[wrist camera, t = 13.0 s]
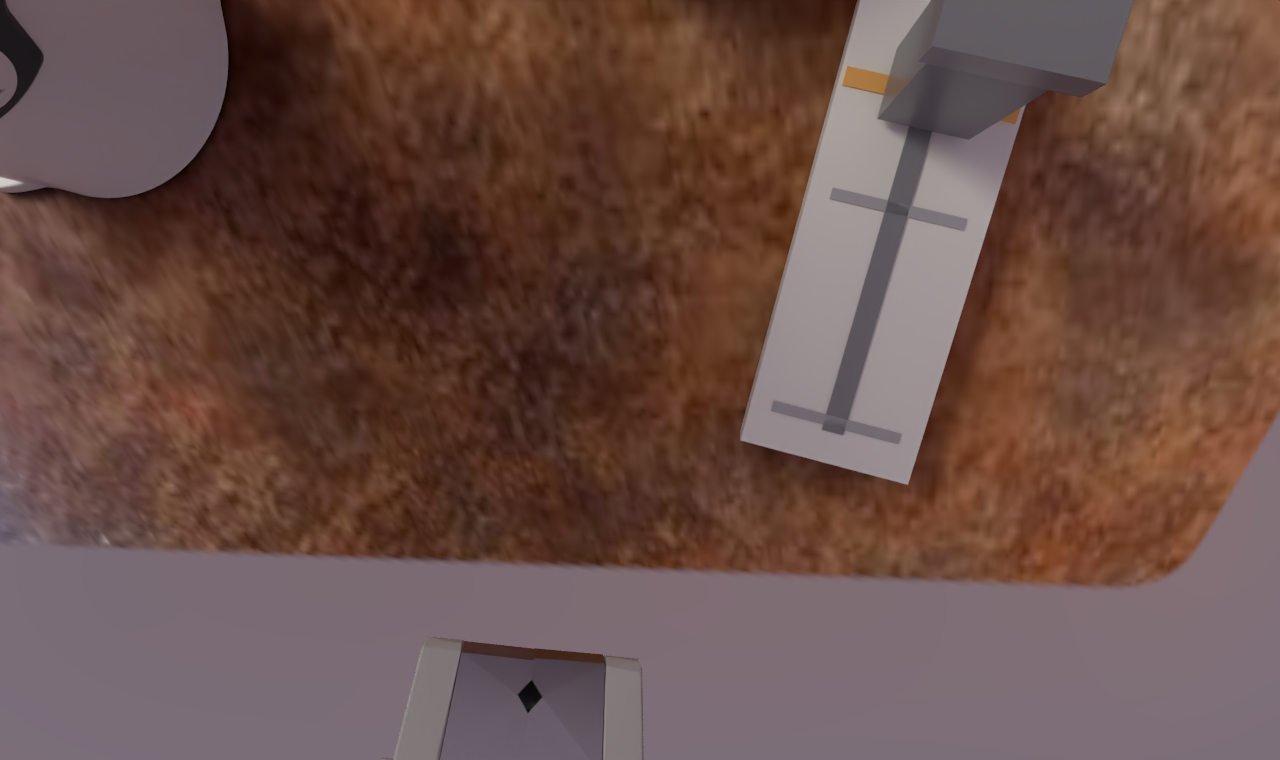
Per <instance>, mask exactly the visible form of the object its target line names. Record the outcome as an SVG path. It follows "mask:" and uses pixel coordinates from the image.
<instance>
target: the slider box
mask: <svg viewBox="0 0 1280 760" xmlns="http://www.w3.org/2000/svg"><path fill="white" fill-rule="evenodd" d="M930 1H931V0H857V3H856V6H855V10H854V14H853V17H852V21H851V25H850V29H849V32H848V36H847V40H846V43H845V47H844V51H843V54H842V58H841V62H840V65H839V69H838V73H837V76H836V80H835V84H834V87H833V91H832V95H831V98H830V102H829V106H828V109H827V113H826V117H825V120H824V124H823V128H822V131H821V135H820V139H819V142H818V146H817V150H816V154H815V157H814V161H813V165H812V168H811V172H810V176H809V179H808V183H807V187H806V190H805V194H804V198H803V201H802V205H801V209H800V212H799V216H798V220H797V223H796V227H795V231H794V234H793V238H792V242H791V245H790V249H789V253H788V256H787V260H786V264H785V267H784V271H783V275H782V279H781V282H780V286H779V290H778V293H777V297H776V301H775V304H774V308H773V312H772V315H771V319H770V323H769V326H768V330H767V334H766V337H765V341H764V345H763V348H762V352H761V356H760V359H759V363H758V367H757V370H756V374H755V378H754V381H753V385H752V389H751V392H750V396H749V400H748V404H747V407H746V411H745V415H744V418H743V422H742V426H741V429H740V440H741V441H744V442H748V443H752V444H756V445H759V446H763V447H767V448H771V449H775V450H778V451H782V452H786V453H790V454H793V455H797V456H801V457H805V458H808V459H812V460H816V461H820V462H824V463H827V464H831V465H835V466H839V467H842V468H846V469H850V470H854V471H857V472H861V473H865V474H869V475H873V476H876V477H880V478H884V479H888V480H891V481H895V482H899V483H903V484H907V485H908V483H909V480H910V477H911V473H912V470H913V467H914V464H915V460H916V457H917V454H918V451H919V448H920V444H921V441H922V438H923V435H924V431H925V428H926V425H927V422H928V419H929V415H930V412H931V409H932V406H933V402H934V399H935V396H936V393H937V390H938V386H939V383H940V380H941V377H942V373H943V370H944V367H945V364H946V361H947V357H948V354H949V351H950V348H951V344H952V341H953V338H954V335H955V331H956V328H957V325H958V322H959V319H960V315H961V312H962V309H963V306H964V302H965V299H966V296H967V293H968V290H969V286H970V283H971V280H972V277H973V273H974V270H975V267H976V264H977V261H978V257H979V254H980V251H981V248H982V244H983V241H984V238H985V235H986V232H987V228H988V225H989V222H990V219H991V215H992V212H993V209H994V206H995V203H996V199H997V196H998V193H999V190H1000V186H1001V183H1002V180H1003V177H1004V173H1005V170H1006V167H1007V164H1008V161H1009V157H1010V154H1011V151H1012V148H1013V144H1014V141H1015V138H1016V135H1017V132H1018V128H1019V125H1020V122H1021V119H1022V115H1023V112H1024V109H1025V106H1026V105H1024V106H1023V107H1021V108H1019V109H1018V110H1016V111H1015V112H1013V113H1011V114H1010V115H1008V116H1007V117H1005V118H1003V119H1002V120H1000V121H998V122H997V123H995V124H994V125H992V126H990V127H989V128H987V129H985V130H984V131H982V132H981V133H979V134H977V135H976V136H974V137H973V138H971V139H969V140H967V139H963V138H959V137H954V136H950V135H945V134H941V133H936V132H932V131H928V130H923V129H919V128H914V127H910V126H905V125H901V124H896V123H892V122H888V121H883V120H879V119H877V117H878V113H879V110H880V106H881V103H882V99H883V96H884V92H885V89H886V85H887V82H888V78H889V74H890V71H891V67H892V64H893V60H894V57H895V53H896V50H897V48H898V46H899V45H900V43H901V42H902V40H903V39H904V38H905V36H906V35H907V33H908V32H909V31H910V29H911V28H912V26H913V25H914V24H915V22H916V21H917V19H918V18H919V16H920V15H921V14H922V12H923V11H924V9H925V8H926V7H927V5H928V4H929V2H930Z"/></svg>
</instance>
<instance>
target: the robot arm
mask: <svg viewBox="0 0 1280 760" xmlns="http://www.w3.org/2000/svg"><path fill="white" fill-rule="evenodd" d="M227 76H228V43H227V35H226V29H225V24H224V19H223V14H222V8H221V2H220V0H0V191H3V192H9V193H17V192H25V191H31V190H36V189H40V188H45V187H51V188H58V189H62V190H66V191H70V192H73V193H77V194H81V195H85V196H90V197H98V198H119V197H126V196H132V195H136V194H139V193H143V192H146V191H148V190H151V189H153V188H155V187H157V186H159V185H161V184H163V183H164V182H166V181H168V180H169V179H171V178H172V177H173V176H175V175H176V174H177V173H179V172H180V171H181V170H182V169H183V168H184V167H186V166H187V164H188V163H189V162H190V161H191V160H192V159H193V158H194V157H195V156H196V154H197V153H198V152H199V151H200V149H201V148H202V146H203V145H204V143H205V142H206V140H207V139H208V137H209V135H210V133H211V131H212V129H213V127H214V125H215V123H216V121H217V118H218V115H219V113H220V110H221V107H222V103H223V99H224V95H225V90H226V84H227ZM642 702H643V701H642V668H641V665H640V662H639V660H638V659H633V658H623V657H613V656H603V655H601V654H590V653H579V652H568V651H556V650H546V649H531V648H522V647H513V646H504V645H494V644H485V643H476V642H467V641H463V640H455V639H446V638H435V637H426V639H425V642H424V644H423V646H422V649H421V652H420V656H419V660H418V664H417V668H416V672H415V676H414V679H413V683H412V687H411V691H410V695H409V699H408V703H407V707H406V711H405V715H404V719H403V723H402V726H401V730H400V734H399V738H398V742H397V746H396V750H395V754H394V758H393V759H392V758H381V759H380V760H644V758H643V704H642Z"/></svg>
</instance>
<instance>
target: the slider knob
mask: <svg viewBox="0 0 1280 760" xmlns="http://www.w3.org/2000/svg"><path fill="white" fill-rule="evenodd" d="M1133 2H1134V0H931V1H930V2H929V4H928V5H927V7H926V8H925V9H924V11H923V12H922V14H921V15H920V16H919V18H918V19H917V21H916V22H915V24H914V25H913V26H912V28H911V29H910V31H909V32H908V33H907V35H906V36H905V38H904V39H903V40H902V42H901V43H900V45H899V46H898V48H897V50H896V53H895V57H894V60H893V64H892V67H891V71H890V74H889V78H888V82H887V85H886V89H885V92H884V96H883V99H882V103H881V106H880V110H879V113H878V117H877V119H879V120H883V121H888V122H892V123H896V124H901V125H905V126H910V127H914V128H919V129H923V130H928V131H932V132H936V133H941V134H945V135H950V136H954V137H959V138H963V139H967V140H969V139H971V138H973V137H974V136H976V135H977V134H979V133H981V132H982V131H984V130H985V129H987V128H989V127H990V126H992V125H994V124H995V123H997V122H998V121H1000V120H1002V119H1003V118H1005V117H1007V116H1008V115H1010V114H1011V113H1013V112H1015V111H1016V110H1018V109H1019V108H1021V107H1023V106H1024V105H1026V104H1028V103H1029V102H1031V101H1032V100H1034V99H1036V98H1037V97H1039V96H1040V95H1042V94H1044V93H1045V92H1047V91H1049V90H1050V91H1055V92H1060V93H1064V94H1069V95H1073V96H1078V97H1083V96H1085V95H1087V94H1089V93H1091V92H1093V91H1094V90H1096V89H1098V88H1100V87H1102V86H1104V85H1105V84H1107V82H1108V79H1109V76H1110V73H1111V69H1112V66H1113V63H1114V60H1115V57H1116V54H1117V51H1118V48H1119V45H1120V42H1121V39H1122V36H1123V33H1124V29H1125V26H1126V23H1127V20H1128V17H1129V14H1130V11H1131V8H1132V5H1133Z"/></svg>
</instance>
